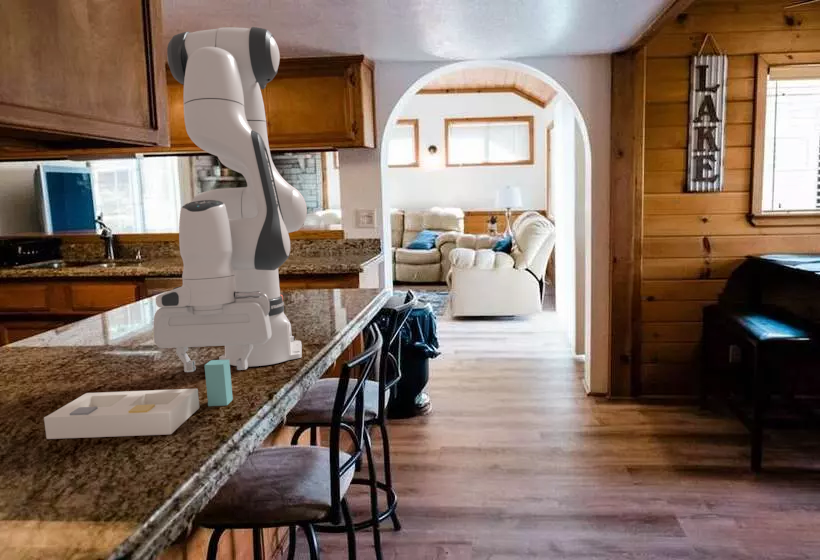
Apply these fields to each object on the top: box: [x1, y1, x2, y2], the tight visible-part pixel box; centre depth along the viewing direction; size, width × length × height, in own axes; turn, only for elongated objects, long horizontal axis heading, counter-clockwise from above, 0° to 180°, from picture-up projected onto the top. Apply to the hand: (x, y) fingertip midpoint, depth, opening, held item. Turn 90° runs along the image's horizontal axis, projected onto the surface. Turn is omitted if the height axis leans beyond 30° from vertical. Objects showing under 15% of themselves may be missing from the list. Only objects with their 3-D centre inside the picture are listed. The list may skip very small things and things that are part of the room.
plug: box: [203, 359, 234, 407], centre depth 119 cm, size 3×3×8 cm
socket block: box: [43, 388, 200, 440], centre depth 111 cm, size 13×20×4 cm, turn 88°
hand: (216, 370), depth 118 cm, fingers open, 8 cm apart
